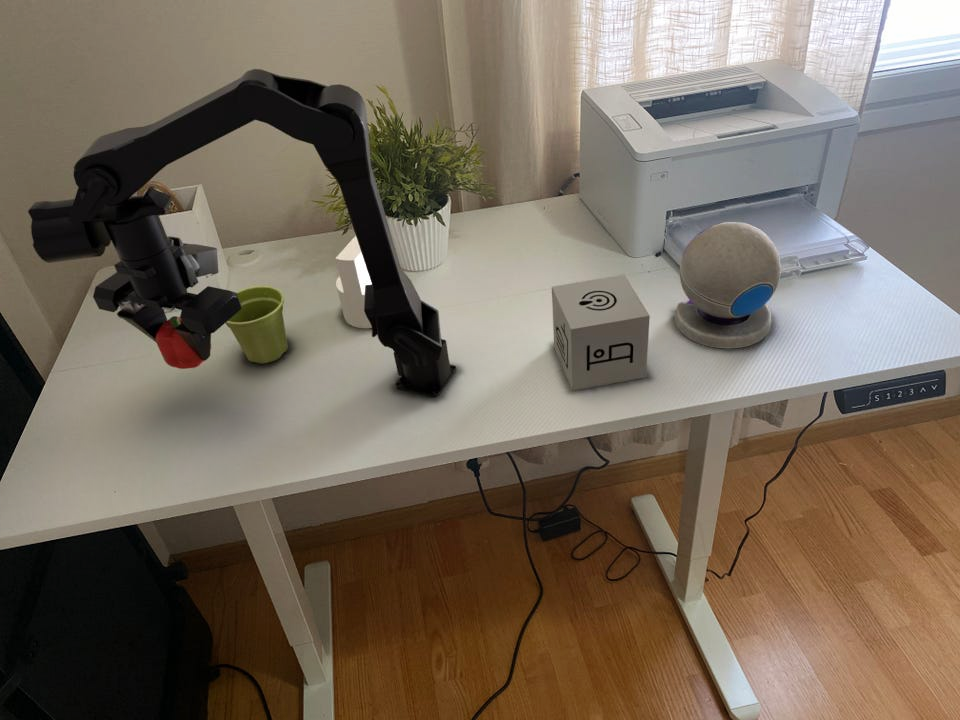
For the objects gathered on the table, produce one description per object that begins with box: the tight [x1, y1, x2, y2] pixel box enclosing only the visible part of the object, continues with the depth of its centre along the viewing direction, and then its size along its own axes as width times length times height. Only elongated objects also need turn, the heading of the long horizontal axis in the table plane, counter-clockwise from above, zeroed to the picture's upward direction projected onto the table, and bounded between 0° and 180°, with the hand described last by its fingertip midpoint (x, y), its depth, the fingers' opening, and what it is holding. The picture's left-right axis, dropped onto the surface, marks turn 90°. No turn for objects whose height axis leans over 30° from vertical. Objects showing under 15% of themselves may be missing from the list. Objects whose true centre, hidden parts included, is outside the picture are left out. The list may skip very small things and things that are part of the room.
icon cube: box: [551, 274, 651, 391], centre depth 98 cm, size 10×10×10 cm
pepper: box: [155, 315, 212, 370], centre depth 93 cm, size 6×6×7 cm
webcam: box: [674, 221, 782, 349], centre depth 100 cm, size 13×13×15 cm
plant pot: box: [224, 285, 289, 364], centre depth 107 cm, size 9×9×9 cm
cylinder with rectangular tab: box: [335, 235, 372, 329], centre depth 112 cm, size 9×9×12 cm
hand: (189, 354), depth 95 cm, fingers closed on pepper, 5 cm apart
